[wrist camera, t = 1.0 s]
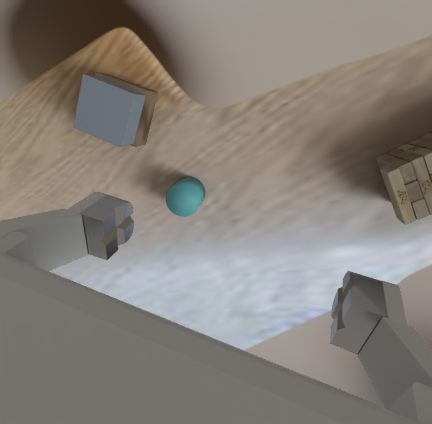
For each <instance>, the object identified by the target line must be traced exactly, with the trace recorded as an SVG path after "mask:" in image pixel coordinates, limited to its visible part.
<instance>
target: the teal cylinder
mask: <svg viewBox="0 0 432 424" xmlns="http://www.w3.org/2000/svg"><path fill="white" fill-rule="evenodd" d="M204 196H205V188H204V186H203V184H202V183H201V182H200V181H199V180H198V179H196V178H194V177H184V178H182V179H181V180H179V181H178V182H177V183H176V184H175V185H174V186H172V187H171V188H170V189H169V191H168V192H167V195H166V203H167V206H168V208H169V209H170V210H171V211H172V212H173V213H174V214H176V215H178V216H189V215H191V214H193V213H194V212H195V211H196V210H197V208H198V207H199V205H200V204H201V202H202V201H203V199H204Z"/></svg>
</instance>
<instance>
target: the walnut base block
mask: <svg viewBox="0 0 432 424" xmlns="http://www.w3.org/2000/svg"><path fill="white" fill-rule="evenodd" d="M94 76H96V77H100V78H103V79H105V80H108V81H111V82H113V83H116V84H118V85H121V86H123V87H126V88H128V89H131V90H133V91H136V92H138V93H141V94H143V95H146V97H145V101H144V105H143V109H142V113H141V116H140V120H139V124H138V128H137V132H136V136H135V140H134V144H130V145H132V146H135V147H138V146H141V145H144V144H146V141H147V137H148V133H149V129H150V124H151V120H152V116H153V112H154V107H155V103H156V99H157V95H158V92H156V91H153V90H150V89H147V88H144V87H141V86H139V85H136V84H133V83H130V82H127V81H125V80H122V79H119V78H116V77H113V76H111V75H108V74H103V73H98V72H95V75H94Z"/></svg>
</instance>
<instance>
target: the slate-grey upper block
mask: <svg viewBox="0 0 432 424" xmlns="http://www.w3.org/2000/svg"><path fill="white" fill-rule="evenodd" d="M145 97H146V95H143V94H141V93H138V92H136V91H133V90H131V89H128V88H126V87H123V86H121V85H118V84H116V83H113V82H111V81H108V80H105V79H103V78H100V77H96V76H91V75H86V74H83V77H82V82H81V88H80V93H79V99H78V104H77V110H76V116H75V121H74V127H73V128H75V129H78V130H80V131H83V132H85V133H88V134H90V135H93V136H95V137H98V138H100V139H103V140H105V141H108V142H110V143H113V144H115V145H118V146H120V147H123V146H127V145H130V144H134V140H135V136H136V132H137V128H138V124H139V120H140V116H141V113H142V109H143V105H144V101H145Z"/></svg>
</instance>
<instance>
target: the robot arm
mask: <svg viewBox="0 0 432 424" xmlns="http://www.w3.org/2000/svg"><path fill="white" fill-rule="evenodd" d="M132 213H133V205H132V204H131V203H130V202H128V201H125V200H122V199H119V198H116V197H113V196H110V195H107V194H104V193H100V192H94V193H93V194H91V195H89V196H88V197H86V198H85V199H83V200H81V201H80V202H78V203H77V204H75V205H73V206H72V207H70V208H69V209H67V210H66V209H59V210H54V211H49V212H44V213H39V214H33V215H28V216H23V217H18V218H13V219H8V220H3V221H0V424H432V348H431V347H430V345H429V344H428V343H427V342H426V341H425V340H424V339H423V338H422V337H421V335H420V334H419V333H418V332H417V331H416V330H415V329H414V327H411V326H408V323H407V318H406V314H405V309H404V305H403V300H402V296H401V291H400V288H399V286H398V285H395V284H392V283H388V282H385V281H379V280H376V279H373V278H370V277H366V276H363V275H360V274H357V273H353V272H350V271H347V273H346V274H345V276H344V278H343V287H341V288H339V289H338V291H337V293H336V295H335V298H334V301H333V305H332V315H331V316H332V317H333V319H334V321H333V323H332V325H331V336H330V339H331V340H330V344H333V345H336V346H338V347H340V348H343V349H345V350H348V351H350V352H353V353H355V354H358V358H359V359H360V361H361V363H362V365H363V367H364V369H365V371H366V373H367V375H368V376H369V378H370V380H371V382H372V384H373V386H374V388H375V390H376V392H377V393H378V395H379V397H380V399H381V401H382V403H383V405H384V407H385V408H384V407H381V406H379V405H377V404H374V403H372V402H369V401H367V400H364V399H362V398H359V397H357V396H354V395H352V394H349V393H347V392H345V391H342V390H340V389H337V388H335V387H332V386H329V385H327V384H325V383H322V382H320V381H317V380H315V379H312V378H310V377H308V376H305V375H303V374H300V373H297V372H295V371H293V370H290V369H288V368H285V367H283V366H280V365H278V364H276V363H273V362H270V361H268V360H265V359H263V358H261V357H258V356H256V355H253V354H251V353H248V352H246V351H243V350H241V349H239V348H236V347H234V346H231V345H229V344H226V343H224V342H221V341H219V340H216V339H214V338H211V337H209V336H207V335H204V334H202V333H199V332H197V331H194V330H192V329H189V328H187V327H184V326H182V325H179V324H177V323H175V322H172V321H170V320H167V319H165V318H162V317H160V316H157V315H155V314H152V313H150V312H147V311H145V310H143V309H140V308H138V307H135V306H133V305H130V304H128V303H125V302H123V301H120V300H118V299H115V298H113V297H110V296H108V295H105V294H103V293H100V292H98V291H96V290H93V289H91V288H88V287H86V286H83V285H81V284H78V283H76V282H73V281H71V280H68V279H66V278H63V277H61V276H59V275H56V274H54V273H51V272H49V271H50V270H52V269H55V268H57V267H60V266H62V265H64V264H67V263H69V262H72V261H74V260H77V259H79V258H81V257H84V256H86V255H88V254H90V255H93V256H96V257H99V258H102V259H105V260H108V259H109V258H110V257H111V256H112V255H113V254H114V253H115V252H116V251H117V250H118V245H121V244H124V243H126V242H127V241H128V240H129V239H130V237H131V235H132V233H133V228H134V221H133V220H132V218H131V216H130V215H131V214H132Z"/></svg>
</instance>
